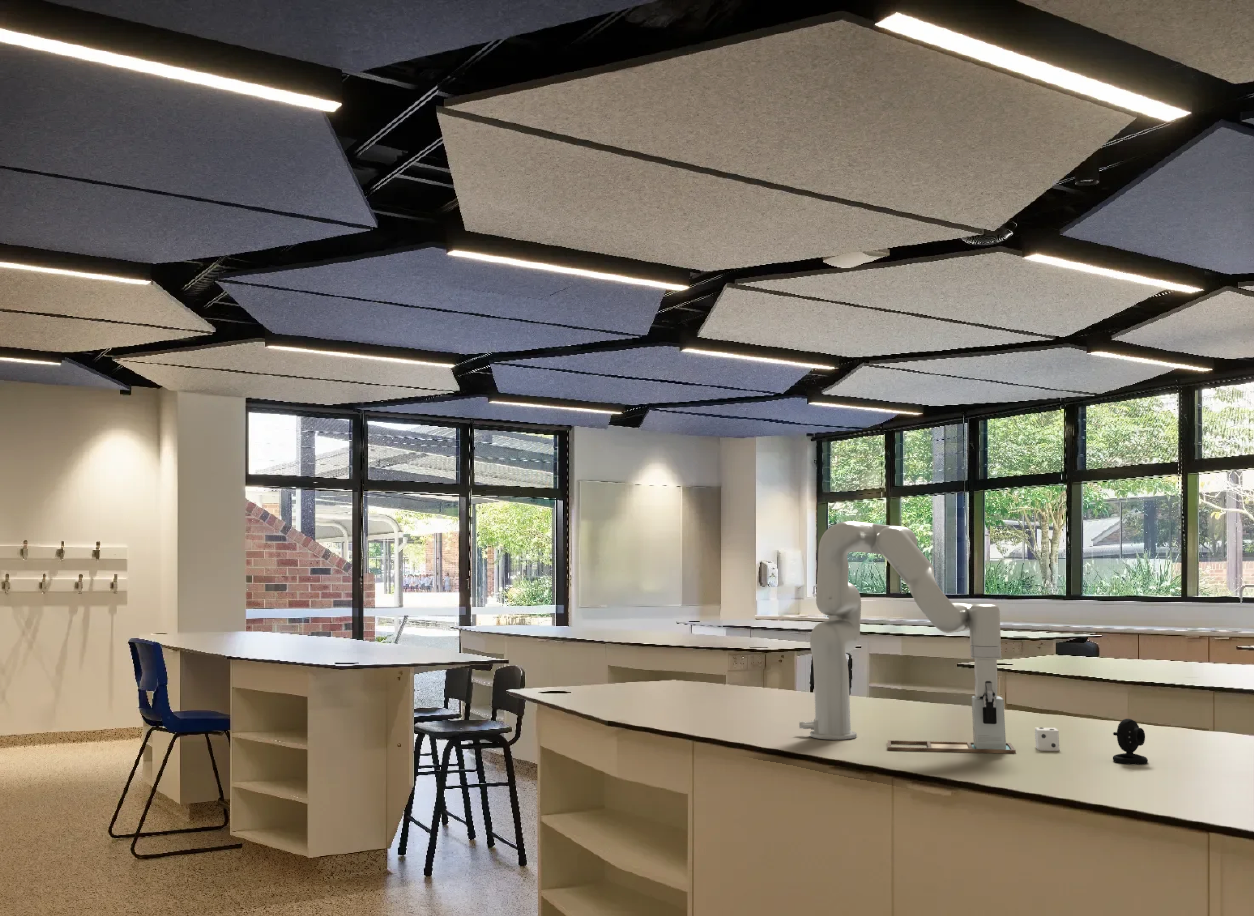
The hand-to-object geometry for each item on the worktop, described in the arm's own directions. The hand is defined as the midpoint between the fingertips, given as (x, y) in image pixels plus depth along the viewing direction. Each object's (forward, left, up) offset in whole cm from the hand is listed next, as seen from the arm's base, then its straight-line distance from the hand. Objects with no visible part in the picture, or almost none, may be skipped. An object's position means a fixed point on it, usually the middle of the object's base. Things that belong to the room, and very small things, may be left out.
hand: (988, 720), depth 276 cm
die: (+14, +3, -7) cm, 16 cm away
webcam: (+30, -14, -7) cm, 34 cm away
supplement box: (0, 0, -7) cm, 7 cm away
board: (-10, 0, -7) cm, 12 cm away
